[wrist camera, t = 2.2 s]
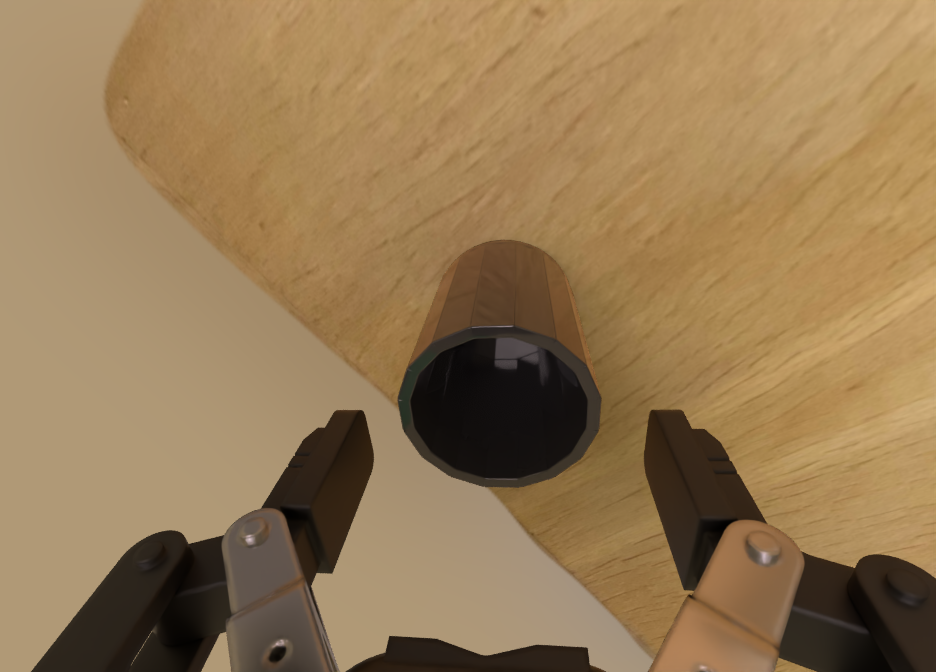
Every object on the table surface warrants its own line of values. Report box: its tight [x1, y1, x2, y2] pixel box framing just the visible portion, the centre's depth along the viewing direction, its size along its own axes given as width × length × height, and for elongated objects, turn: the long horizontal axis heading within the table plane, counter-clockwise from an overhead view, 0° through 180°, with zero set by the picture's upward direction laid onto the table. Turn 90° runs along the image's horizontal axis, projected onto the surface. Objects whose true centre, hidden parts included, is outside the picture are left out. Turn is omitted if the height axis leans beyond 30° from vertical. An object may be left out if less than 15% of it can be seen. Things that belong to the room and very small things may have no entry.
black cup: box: [398, 240, 602, 488], centre depth 17 cm, size 6×6×8 cm
